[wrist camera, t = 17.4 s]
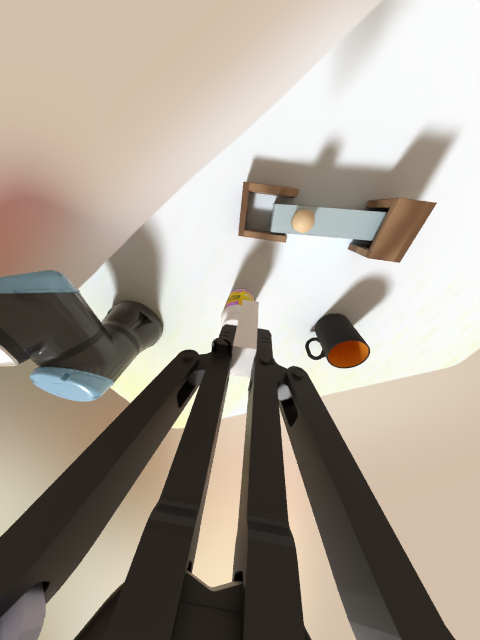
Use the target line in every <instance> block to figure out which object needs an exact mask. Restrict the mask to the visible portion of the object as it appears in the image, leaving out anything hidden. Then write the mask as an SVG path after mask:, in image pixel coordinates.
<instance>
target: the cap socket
mask: <svg viewBox="0 0 480 640" xmlns="http://www.w3.org/2000/svg"><path fill="white" fill-rule="evenodd" d="M436 204H437V203H434V202H426V201H418V200H411V199H403V198H394V199H383V200H372V201H368V204H367V206H366V208H373V209H380V210H388V213H387V215H386V217H385V219H384V221H383V223H382V225H381V227H380V229H379V231H378V233H377V235H376V237H375V239H374V240H373V242H372V244H371V246H364V245H357V244H350V245H349V247H348V249H349V250H351V251H354V252H356V253H358V254H360V255H362V256H365V257H367V258H370V259H377V260H384V261H392V262H399V263H400V261H401V260H402V258H403V256H404V255H405V253H406V252H407V250H408V248H409V247H410V245H411V244H412V242H413V240H414V239H415V237H416V236H417V234H418V232H419V231H420V229H421V228H422V226H423V224H424V223H425V221H426V220H427V218H428V216H429V215H430V213H431V212H432V210H433V208H434V207H435V205H436Z"/></svg>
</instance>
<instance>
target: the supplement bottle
mask: <svg viewBox="0 0 480 640" xmlns="http://www.w3.org/2000/svg"><path fill="white" fill-rule="evenodd" d="M243 300H249V301H254V297H253V295H252V294H251V293H250V292H249V291H248V290H245V289H236V290H234V291H233V292H231V294H230V295H229V297H228V300H227V302H226V305H225V307H224V310H223V312H222V315H221V322H222V324H223V326H224V325H225V324H230V325H236V326H237V324H238V320H239V315H240V311H241V306H242V302H243ZM223 326H222V327H223Z"/></svg>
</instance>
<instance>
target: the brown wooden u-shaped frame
mask: <svg viewBox="0 0 480 640" xmlns="http://www.w3.org/2000/svg"><path fill="white" fill-rule="evenodd" d="M298 190H299V189H295V188H287V187H280V186H272V185H265V184H257V183H249V182H243V192H242V202H241V213H240V223H239V233H238V236H243V237H250V238H257V239H264V240H271V241H278V242H285V243H286V239H287V236H286V235H285V234H278V233H271V232H264V231H257V230H250V229H246V222H247V214H248V205H249V197H250V192H253V193H260V194H268V195H275V196H283V197H290V198H295V197H297V194H298Z"/></svg>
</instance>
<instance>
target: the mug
mask: <svg viewBox="0 0 480 640" xmlns="http://www.w3.org/2000/svg"><path fill="white" fill-rule="evenodd" d="M315 332H316V335H317V338H311V339H309V340H308V341H307V342H306V345H305V348H306V351H307V354H308V356H309V357H310V358H311V359H313V360H319V359H321V358H323V357H326V358H327V360H328V362H329V363H330V364H331V365H332V366H334V367H337V368H351V367H355V366H358V365H360V364H361V363H363V362H364V361H365V360H366V359H367V358H368V357H369V354H370V348H369V346H368V345H367V343H366V342H365V341H364V339H363V338H362V337H361V336H360V334H359V333H358V332H357V330H356V329H355V328H354V327H353V325H352V324H351V323H350V321H349V320H348V319H347V318H346V317H345V316H343V315H341V314H329V315H326V316H324V317H322V318H321V319H320V320H319V321H318V322H317V324H316V326H315ZM312 341H318V342H320V344H321V346H322V349H323V350H322V352H321V354H320V355H319V356H317V357H315V356H313V355H312V354H311V352H310V349H309V343H310V342H312Z"/></svg>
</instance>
